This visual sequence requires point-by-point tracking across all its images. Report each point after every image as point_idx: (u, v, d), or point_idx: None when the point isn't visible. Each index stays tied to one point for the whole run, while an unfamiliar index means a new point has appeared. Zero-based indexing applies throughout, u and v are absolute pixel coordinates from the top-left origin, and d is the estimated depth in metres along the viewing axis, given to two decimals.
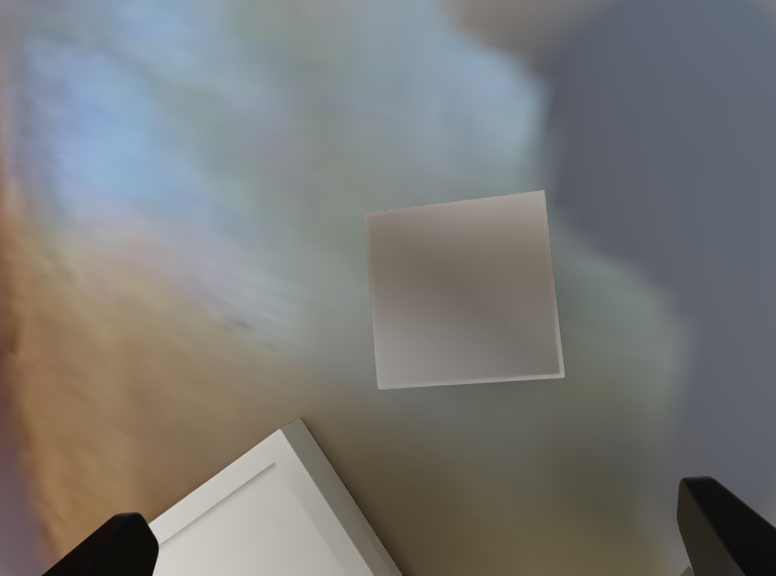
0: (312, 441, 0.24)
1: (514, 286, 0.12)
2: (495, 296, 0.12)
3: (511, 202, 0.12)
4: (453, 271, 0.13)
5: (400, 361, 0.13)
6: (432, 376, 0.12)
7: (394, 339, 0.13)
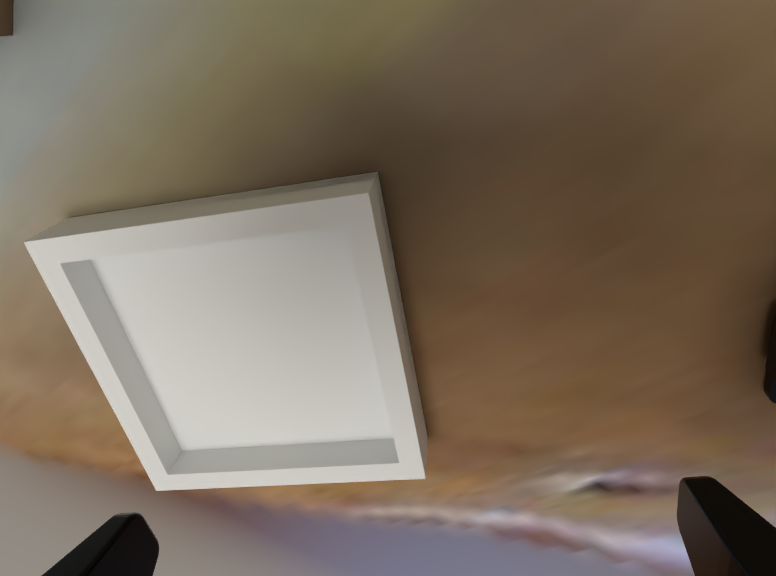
0: (87, 217, 0.21)
1: None
2: None
3: None
4: None
5: None
6: None
7: None
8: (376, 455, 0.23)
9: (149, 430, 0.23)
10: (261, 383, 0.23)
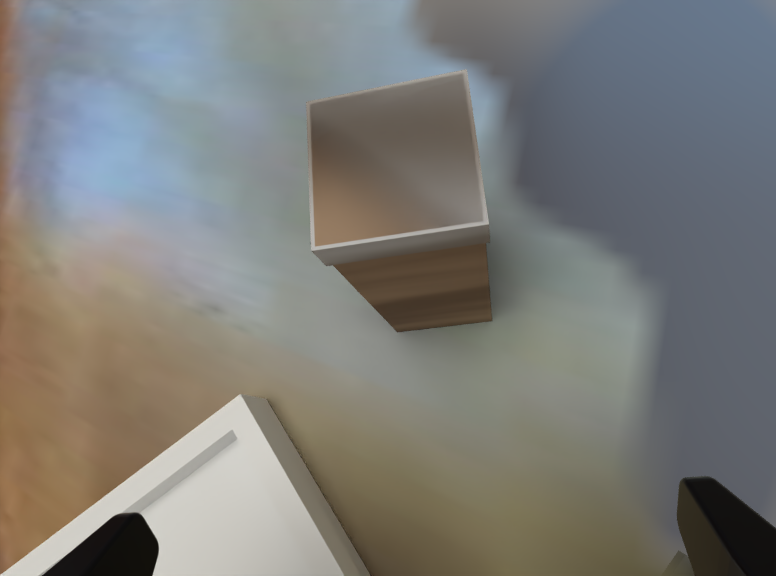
0: (275, 420, 0.23)
1: (440, 149, 0.13)
2: (423, 159, 0.13)
3: (437, 81, 0.14)
4: (385, 141, 0.13)
5: (333, 224, 0.13)
6: (363, 234, 0.13)
7: (328, 204, 0.13)
8: None
9: None
10: None
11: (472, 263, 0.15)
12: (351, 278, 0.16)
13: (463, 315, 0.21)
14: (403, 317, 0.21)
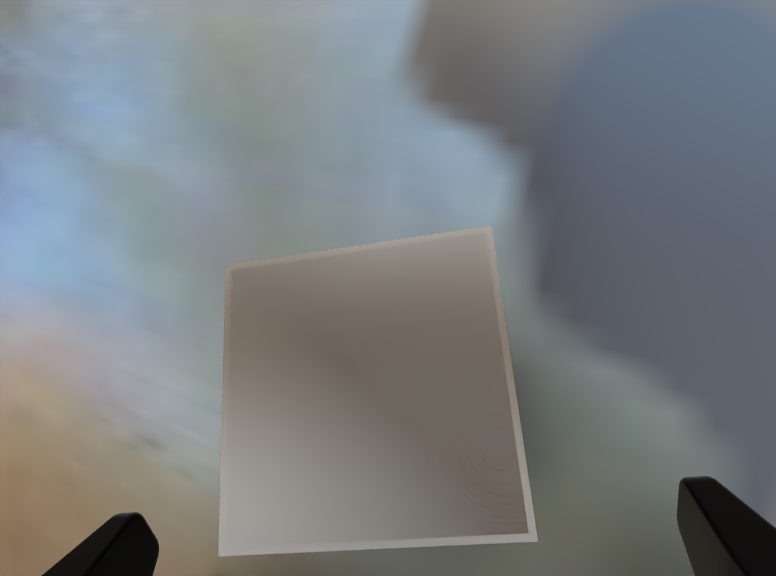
0: None
1: (446, 374, 0.07)
2: (417, 391, 0.07)
3: (442, 244, 0.08)
4: (352, 351, 0.08)
5: (259, 505, 0.07)
6: (309, 534, 0.07)
7: (252, 466, 0.08)
8: None
9: None
10: None
11: None
12: None
13: None
14: None
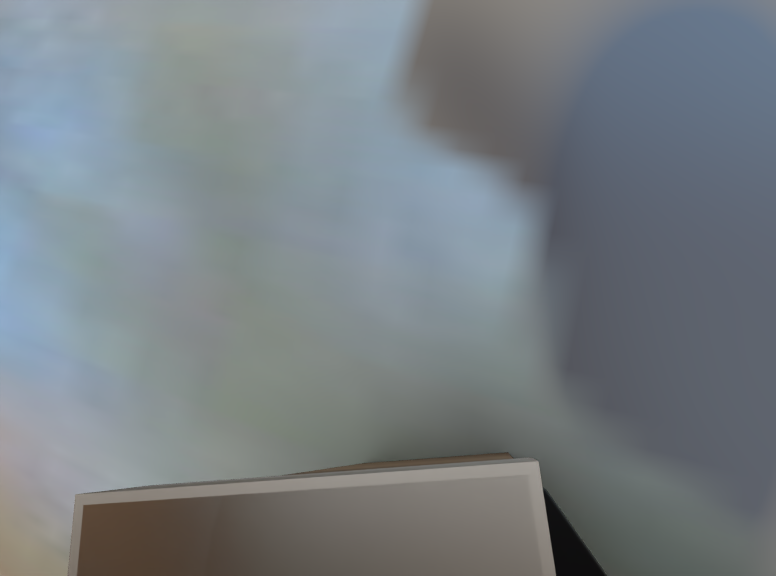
0: None
1: None
2: None
3: (447, 492, 0.04)
4: None
5: None
6: None
7: None
8: None
9: None
10: None
11: None
12: None
13: None
14: None
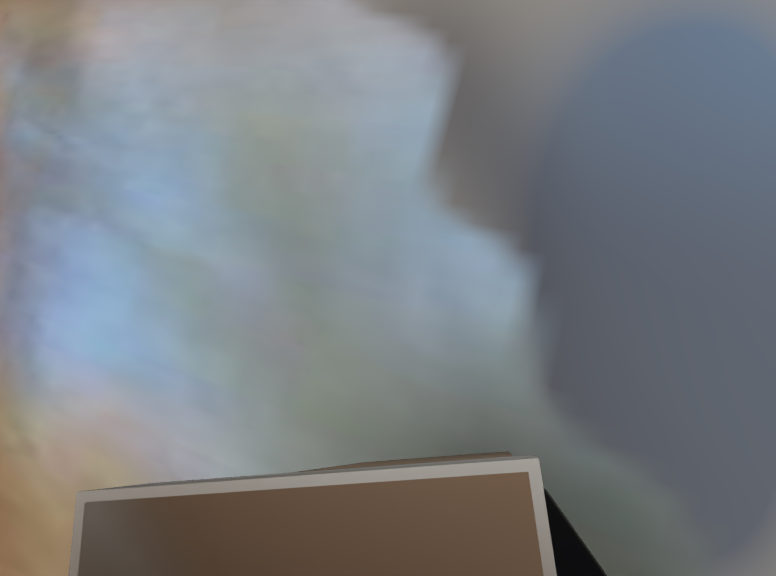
0: None
1: None
2: None
3: (448, 489, 0.04)
4: None
5: None
6: None
7: None
8: None
9: None
10: None
11: None
12: None
13: None
14: None
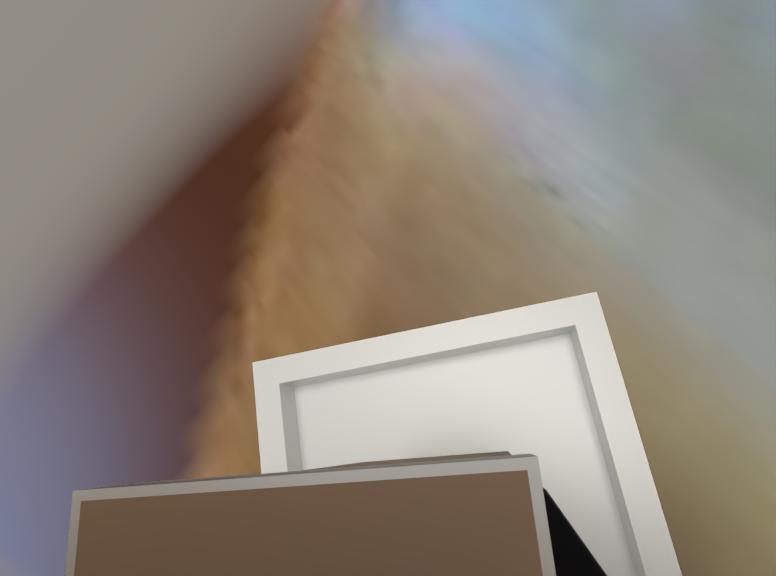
0: None
1: None
2: None
3: (446, 487, 0.04)
4: None
5: None
6: None
7: None
8: None
9: (344, 371, 0.20)
10: None
11: None
12: None
13: None
14: None
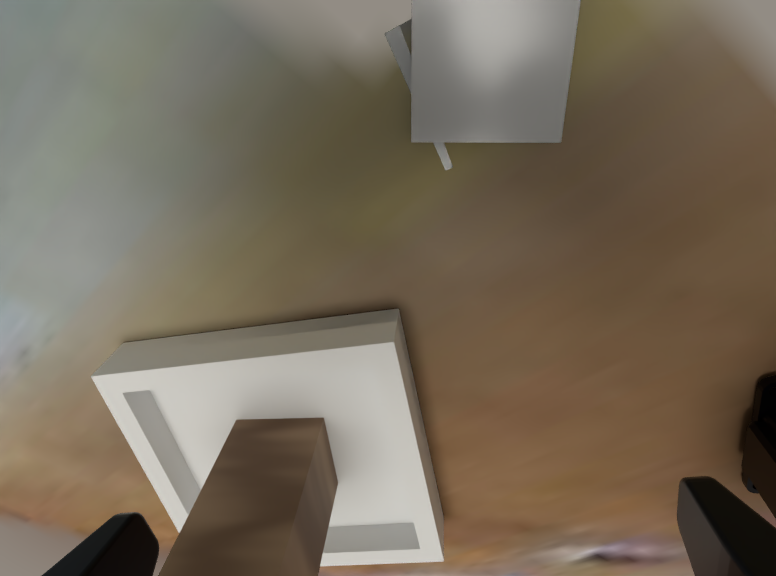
0: (142, 344, 0.24)
1: None
2: None
3: None
4: None
5: None
6: None
7: None
8: (399, 540, 0.26)
9: None
10: None
11: None
12: None
13: (320, 462, 0.23)
14: (325, 517, 0.23)
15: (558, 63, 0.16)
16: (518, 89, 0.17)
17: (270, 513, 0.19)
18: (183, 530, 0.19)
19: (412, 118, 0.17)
